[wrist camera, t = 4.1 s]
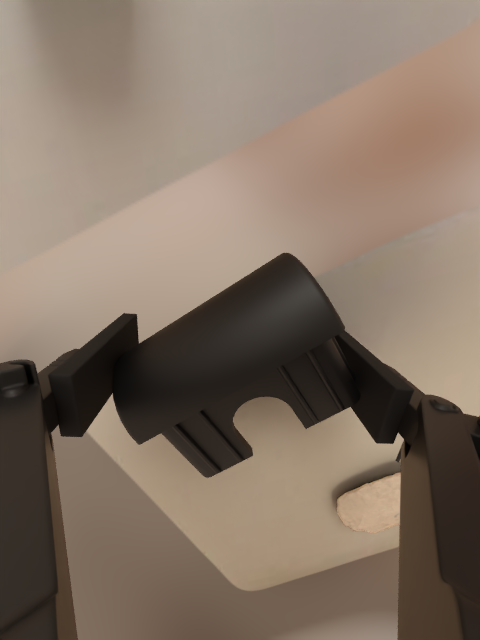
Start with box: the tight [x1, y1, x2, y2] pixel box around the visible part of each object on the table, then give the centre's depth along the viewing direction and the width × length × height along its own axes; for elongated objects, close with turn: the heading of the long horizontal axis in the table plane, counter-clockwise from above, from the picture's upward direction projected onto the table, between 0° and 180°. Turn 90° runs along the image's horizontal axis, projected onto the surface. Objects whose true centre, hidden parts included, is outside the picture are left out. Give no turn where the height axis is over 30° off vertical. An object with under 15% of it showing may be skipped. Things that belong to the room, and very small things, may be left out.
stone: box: [336, 473, 401, 533], centre depth 21 cm, size 8×14×2 cm, turn 115°
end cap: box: [112, 253, 361, 478], centre depth 13 cm, size 10×7×7 cm
